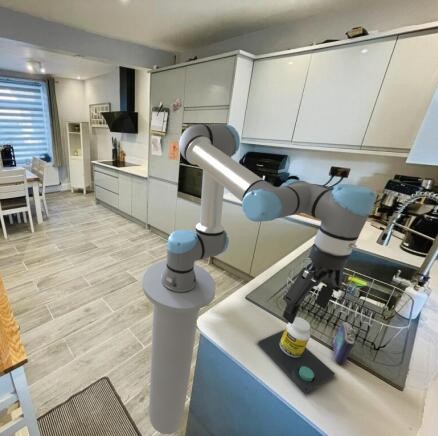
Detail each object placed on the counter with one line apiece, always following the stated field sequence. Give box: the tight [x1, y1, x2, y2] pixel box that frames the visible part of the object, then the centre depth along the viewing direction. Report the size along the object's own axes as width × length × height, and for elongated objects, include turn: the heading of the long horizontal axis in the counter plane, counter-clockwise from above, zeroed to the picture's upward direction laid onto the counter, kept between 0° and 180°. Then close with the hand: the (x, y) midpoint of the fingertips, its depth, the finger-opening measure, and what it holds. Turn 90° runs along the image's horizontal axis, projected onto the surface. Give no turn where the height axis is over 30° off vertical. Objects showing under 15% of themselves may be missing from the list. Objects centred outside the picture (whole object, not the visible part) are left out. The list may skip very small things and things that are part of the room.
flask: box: [332, 321, 357, 366], centre depth 72 cm, size 9×3×11 cm, turn 148°
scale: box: [257, 329, 336, 395], centre depth 71 cm, size 16×13×3 cm
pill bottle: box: [280, 316, 311, 358], centre depth 71 cm, size 6×6×11 cm
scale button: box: [299, 366, 314, 382], centre depth 65 cm, size 3×3×2 cm
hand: (304, 312), depth 68 cm, fingers open, 13 cm apart
